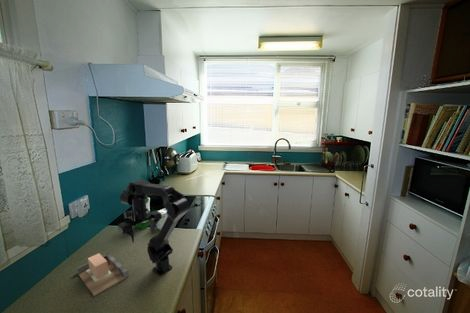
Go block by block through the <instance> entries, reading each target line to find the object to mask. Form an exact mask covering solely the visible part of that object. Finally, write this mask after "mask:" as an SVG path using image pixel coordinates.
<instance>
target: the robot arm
mask: <svg viewBox="0 0 470 313" xmlns="http://www.w3.org/2000/svg"><path fill="white" fill-rule="evenodd" d="M148 195H150V196H156V197H157V196H158V197H161V199H162V201H163V207H164V208H165V209H166V210H167V215H168V217H167V219H166V221H165V223H164V224H163V226H162V228H161V230H160V229H159V230H160V231H159V232H158V234H156V235H155V236H152V237H151V238H149V241H148V243H147V248H146V249H147V250H146V251H147V253H148V258H149V259H150V261H151V263H152V264H155V265H154V267H152V271H154V272H155V273H156V274H157V275H158V276H162V275H164V274H165V273H167V272H168V271H170V270H171V269H173V266H172V265H171V264H170V257H169V256H170V255H171V254H173V252H174V251H173V250H174V249H173V248H172V246H171V244H170V241H169V238H170V237H171V234H172V232H173V231H174V230H175V227H176V225H177V224H178V222H179V221H180V219H181V218H182V217H183V216H184V215H186V213H188V212H189V211H190V208H191V205H190V202H189V200H188V199H187V198H186V196H185V195H184V194H183V193H181V192H179V191H178V190H176V189H175V188H174V186H172V185H164V184H157V183H150V182H149V181H148V180H146V179H142V178H141V179H138V180H134V181H131V182H129V183H128V186H127V188H126V189H123V190H122V193H121V194H120V197H119V201H120V203H121V204H125V205H128V206H132V208H131V210H126V211H125V210H124V211H123V216H124V219H128V220H129V219H130V220H131V222H129V221H127V220H126V221H123V222H120V223H119V224H118V225H117V231H118V232H120V233H121V234H123V235H124V234H125V235H128V238H129V239H130V241H131V243H132V244H133V243H135V234H134V230H133V227H135V225H138V224H140V223H143V222H145V221H148V220H149V222H150V225H149V231H150V234H151V235H153V233H154V232H155V228H157V226H156V225H157V223H158V221H160V219H161V218H162V214H161V213H160V212H158V211H159V210H153V211H150V213H149V214H148V216H147V211H148V209H147V208H146V199H147V198H150V197H149V196H148ZM169 196H171V197H173V198H174V199H176V200H175V201H173V202H170V199H169Z"/></svg>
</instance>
